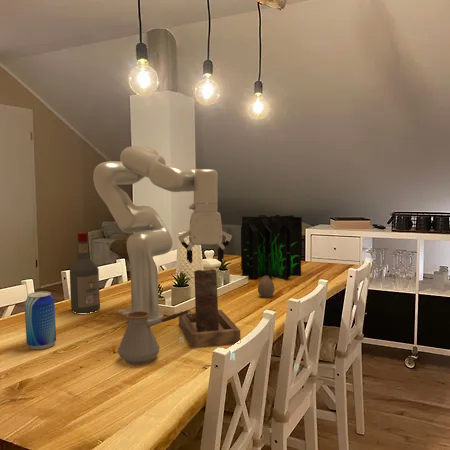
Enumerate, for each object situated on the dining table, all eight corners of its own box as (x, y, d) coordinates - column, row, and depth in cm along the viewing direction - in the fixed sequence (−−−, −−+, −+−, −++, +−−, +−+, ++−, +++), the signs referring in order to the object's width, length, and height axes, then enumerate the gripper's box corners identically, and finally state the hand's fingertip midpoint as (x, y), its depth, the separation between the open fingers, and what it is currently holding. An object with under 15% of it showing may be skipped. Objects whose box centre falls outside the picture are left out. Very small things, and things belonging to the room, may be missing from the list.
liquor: (102, 310, 185) (99, 232, 182) (81, 316, 179) (78, 235, 176) (89, 306, 192) (86, 231, 189) (68, 311, 185) (65, 233, 182)
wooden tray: (191, 348, 144) (191, 334, 143) (178, 324, 167) (178, 313, 167) (240, 343, 148) (240, 330, 147) (221, 320, 171) (221, 309, 170)
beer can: (38, 352, 142) (36, 298, 140) (20, 347, 146) (18, 295, 145) (62, 344, 149) (59, 292, 147) (44, 339, 153) (41, 289, 152)
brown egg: (273, 299, 200) (273, 278, 199) (256, 298, 202) (256, 277, 201) (275, 295, 207) (275, 274, 206) (259, 294, 208) (259, 274, 207)
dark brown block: (191, 332, 155) (190, 270, 153) (201, 325, 162) (200, 266, 160) (213, 334, 152) (212, 272, 150) (222, 328, 159) (221, 267, 157)
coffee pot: (110, 365, 131) (108, 311, 130) (129, 350, 143) (127, 300, 141) (185, 372, 126) (184, 316, 125) (198, 356, 137) (197, 304, 136)
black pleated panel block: (308, 273, 253) (309, 215, 250) (283, 284, 228) (284, 220, 225) (260, 268, 268) (259, 213, 265) (231, 277, 243) (231, 218, 240)
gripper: (180, 209, 148) (180, 265, 150) (235, 209, 152) (234, 262, 154) (176, 207, 155) (176, 260, 157) (228, 207, 159) (228, 258, 161)
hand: (205, 261), depth 155 cm, fingers open, 9 cm apart
